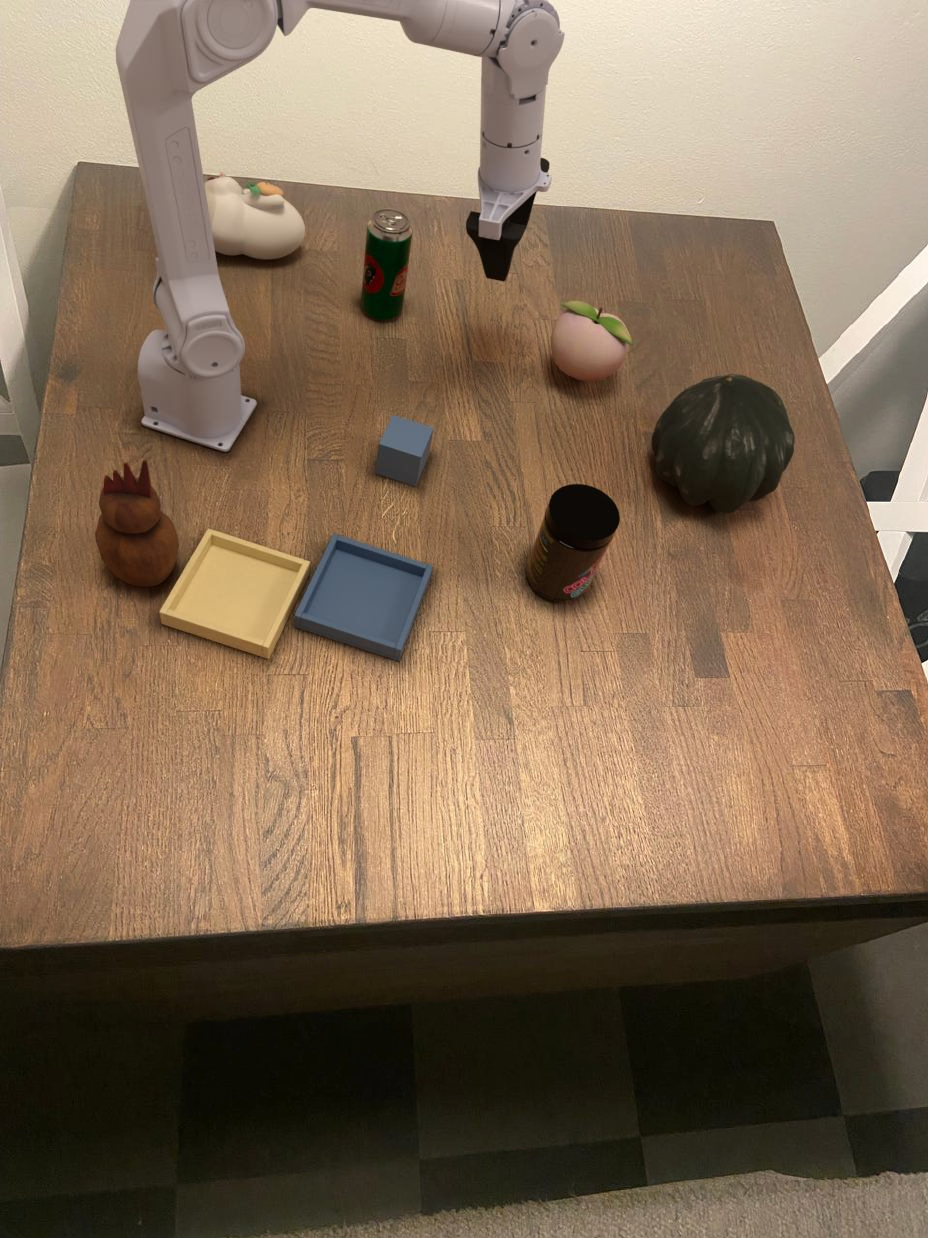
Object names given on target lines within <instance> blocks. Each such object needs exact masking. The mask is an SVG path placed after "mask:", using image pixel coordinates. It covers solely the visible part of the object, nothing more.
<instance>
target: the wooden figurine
mask: <svg viewBox="0 0 928 1238" xmlns="http://www.w3.org/2000/svg"><path fill="white" fill-rule="evenodd" d="M98 505H99V509H100V515H99V517H98V521H97V525H96V529H95V533H94V537H95V542H96V546H97V549H98V553H99V556H100V560H101V561H102V563H103V564H104V565H105V566H106V567H107V568H108V569H109V570H110V571H111V572H112V573H113V574H114V575H115V576H117V577H118V578H119V579H120V580H122V582H125V583H127V584H129V585H132V586H136V587H141V588H152V587H154V586H158V585H160V584H161V583H163V582H164V581H166V580H167V579H168V577H169V576H170V574H171V573H172V572H173V570H174V568H175V566H176V561H177V558H178V554H179V546H180V544H179V536H178V532H177V529H176V527H175V524H174V522H173V520H172V519H171V518H170V516H168V515H167V514H166V513H164V512H163V511H161V510H162V505H161V500H160V497H159V495H158V492H157V491H156V489H155V488H154V486H152V481H151V475H150V469H149V463H148V461H147V460H146V459H143V460H142V462H141V467H140V472H139V476H138V477H137V476H135V475H134V473H133V471H132V469H131V467H130V464H129V463H128V462H123V476H121V475H120V473H119V471H118V470H116V469H113V471H112V477H110V476H109V475H107V474H105V475H104V479H103V487H102V489H101V491H100V494H99V499H98Z"/></svg>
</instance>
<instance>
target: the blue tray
mask: <svg viewBox="0 0 928 1238" xmlns="http://www.w3.org/2000/svg"><path fill="white" fill-rule="evenodd" d="M433 570H434V565H432V564H428V563H425V562H424V561H423V562H422V561H419V560H416V559H413V558H410V557H407V556H405V555H401V554H398V553H394V552H391V551H389V550H386V549H382V548H380V547H377V546H374V545H370V544H367V543H364V542H361V541H359V540H355V539H352V538H349V537H346V536H342V535H340V534H336V533H333V534H332V535H331V537H330V540H329V541H328V543H327V546H326V548H325V549H324V552H323V554H322V556H321V557H320V560H319V563H318V565H317V566H316V569H315V570H314V573H313V575H312V577H311V579H310V581H309V584H308V586H307V588H306V590H305V592H304V593H303V596H302V598H301V600H300V602H299V605H298V606H297V609H296V611H295V613H294V617H293V624H294V625H293V627H294V628H295V629H299V630H302V631H304V632H305V631H306V632H308V633H311V634H315V635H317V636H320V637H324V638H327V639H329V640H332V641H335V642H338V643H342V644H345V645H348V646H351V647H354V648H358V649H360V650H363V651H366V652H369V653H372V654H376V655H379V656H381V657H384V658H388V659H391V660H394V661H397V662H400V660H401V658H402V655H403V652H404V650H405V647H406V645H407V642H408V639H409V637H410V634H411V632H412V630H413V629H412V628H413V626H414V623H415V621H416V618H417V616H418V613H419V610H420V609H421V605H422V602H423V600H424V598H425V594H426V591H427V589H428V586H429V584H430V582H431V578H432V574H433Z"/></svg>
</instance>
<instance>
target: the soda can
mask: <svg viewBox="0 0 928 1238" xmlns="http://www.w3.org/2000/svg"><path fill="white" fill-rule="evenodd" d="M370 217H371V218H370V219H369V220H368V221H367V224H366V233H365V245H364V246H365V247H364V257H363V258H364V259H363V268H362V269H363V270H362V280H361V281H362V282H361V293H360V295H361V297H360V307H361V309H362V310H363V312H364V313H365V314H366V315H367V316H368V317H369V318H372V319H374V320H375V321H380V322H381V321H382V322H386V321H387V322H388V321H391V320H394V319H396V318H397V317H398V316H400V315H401V314H402V312H403V309H404V301H405V294H406V288H407V287H406V286H407V279H408V271H409V262H410V256H411V247H412V239H413V232H414V231H413V227H412V226H411V219H410V218H409V216H408V215H407V214H406V213H404V212H403V211H401V210H398V209H395V208H390V207H385V208H379V209H376V210H375V211H374V212H373V213H372V214H371V216H370Z"/></svg>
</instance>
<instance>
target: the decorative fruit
mask: <svg viewBox="0 0 928 1238" xmlns="http://www.w3.org/2000/svg"><path fill="white" fill-rule="evenodd" d="M560 306H561V307H563V308H565V310H564V311H563V312H562V313H561V314H560V315H559V316H558V318H557V319H556V320H555V323H554V325H553V328H552V330H551V335H550V351H551V356H552V359H553V361H554V363H555V364H556V366H557V367H558V368H559V369H560V371H562V372H563V373H564V374H566V375H567V376H569V377H571V378H573V379H576V380H579V381H582V382H590V383H591V382H592V383H593V382H599V381H603V380H604V379H606V378H609V377H610V376H611V375H613V374H614V373H615V372H616V371H617V370H618V369H619V368H620V367H621V366H622V365H623V363H624V362H625V360H626V358H627V356H628V352H629V349H630V346H633V340H632V336H631V334H630V332H629V330H628V328H627V326H626V324H625V323H624V322H623V321H622V320H621V319H620V318H619V317H618V316H617V315H615V314H613V313H612V314H611V313H606V312H603V310H604V309H603V306H601V307H599V310H598V309H597V308H596V307H594V306H592V305H591V304H589V303H587V302H585V301H582V300H570V301H569V300H568V301H565V302H562V303H560Z"/></svg>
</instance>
